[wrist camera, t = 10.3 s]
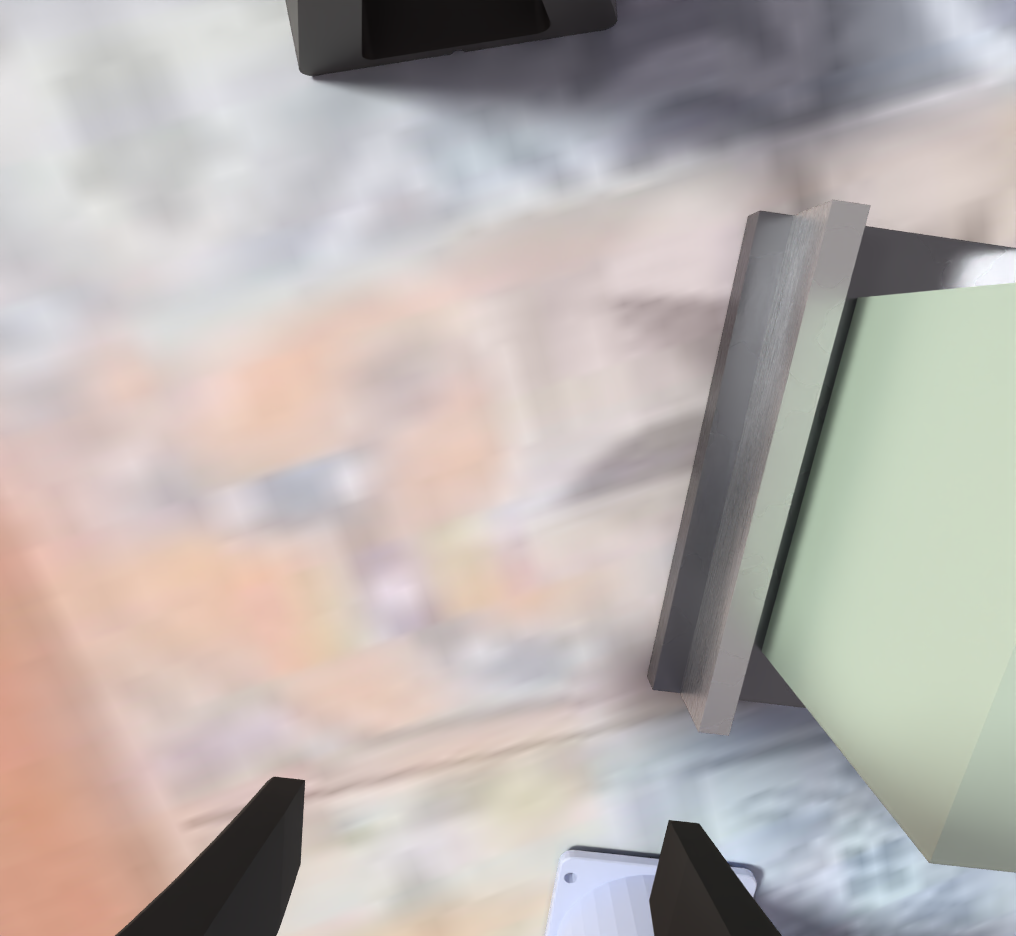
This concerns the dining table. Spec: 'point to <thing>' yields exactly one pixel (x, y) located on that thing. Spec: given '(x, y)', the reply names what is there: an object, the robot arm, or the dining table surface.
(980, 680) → the door panel
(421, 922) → the dining table surface
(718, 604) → the track
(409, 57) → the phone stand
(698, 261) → the dining table surface
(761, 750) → the dining table surface
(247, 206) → the dining table surface
